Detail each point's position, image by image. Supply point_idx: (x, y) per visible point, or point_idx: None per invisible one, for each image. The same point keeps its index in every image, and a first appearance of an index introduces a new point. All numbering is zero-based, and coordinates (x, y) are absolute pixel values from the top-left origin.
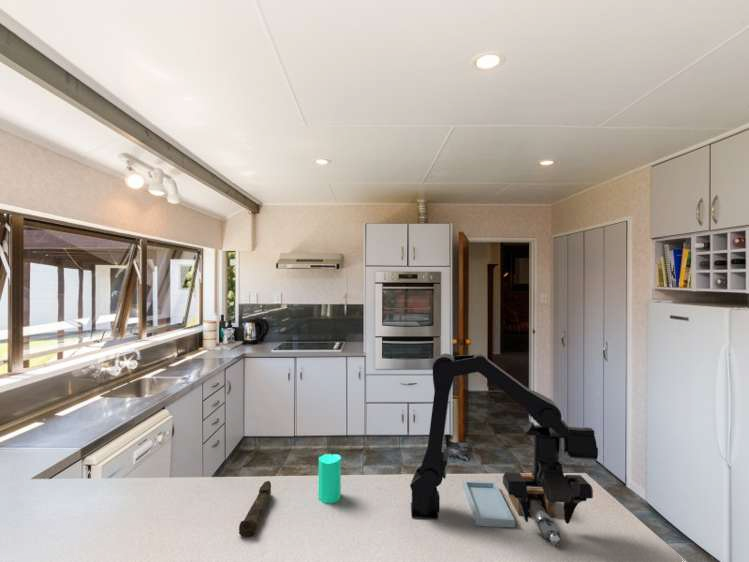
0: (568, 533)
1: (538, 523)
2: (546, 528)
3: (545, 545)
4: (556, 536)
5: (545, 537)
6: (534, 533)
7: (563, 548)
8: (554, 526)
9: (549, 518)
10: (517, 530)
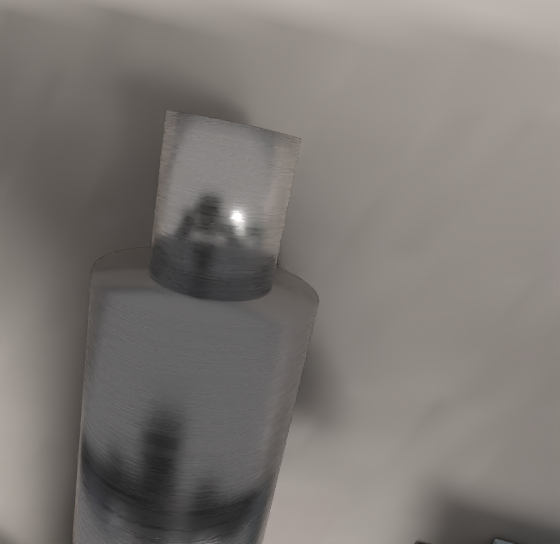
0: (6, 349)
1: (271, 487)
2: (263, 322)
3: (342, 211)
4: (204, 123)
5: (295, 286)
6: (339, 413)
7: None
8: (116, 319)
9: (93, 508)
10: (496, 491)
